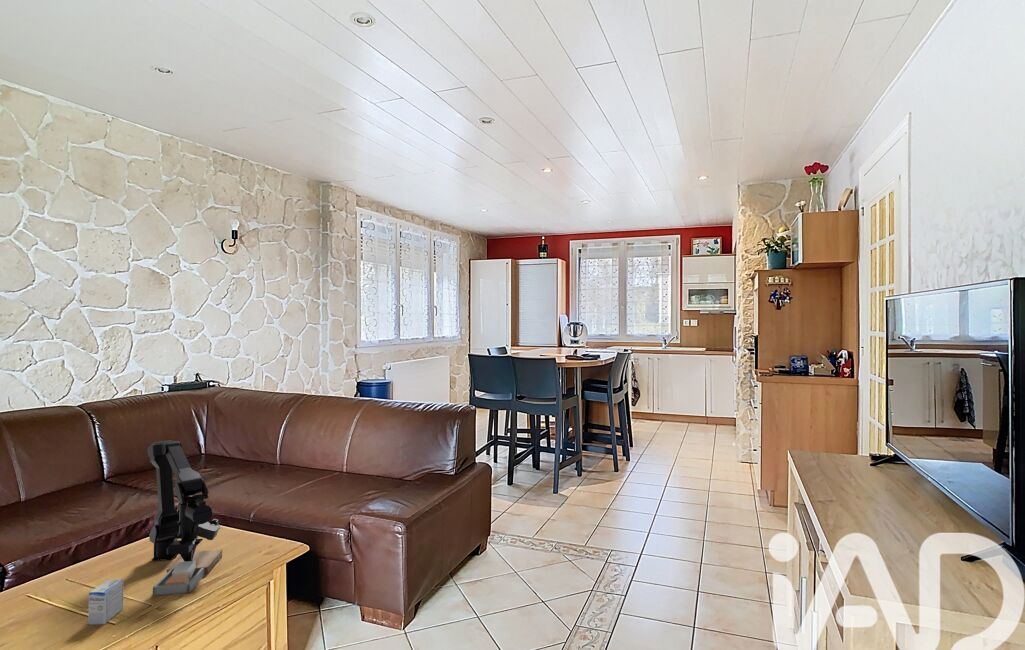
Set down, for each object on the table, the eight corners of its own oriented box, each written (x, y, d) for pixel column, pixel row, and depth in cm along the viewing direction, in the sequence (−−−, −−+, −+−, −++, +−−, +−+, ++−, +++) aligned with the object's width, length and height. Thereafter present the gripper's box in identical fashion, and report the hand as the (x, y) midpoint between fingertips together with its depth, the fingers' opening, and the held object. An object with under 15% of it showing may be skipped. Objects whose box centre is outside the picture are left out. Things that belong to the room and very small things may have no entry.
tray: (152, 595, 164) (152, 587, 164) (170, 577, 176) (170, 569, 176) (189, 593, 166) (189, 584, 166) (204, 575, 178) (204, 567, 178)
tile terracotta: (165, 591, 166) (165, 582, 166) (171, 583, 171) (171, 575, 171) (183, 589, 168) (183, 581, 168) (189, 582, 172) (189, 573, 172)
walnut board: (166, 577, 176) (166, 569, 176) (184, 559, 190) (184, 551, 190) (207, 574, 178) (207, 567, 178) (222, 556, 192) (222, 549, 192)
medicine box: (106, 610, 156) (107, 579, 156) (123, 609, 156) (123, 578, 156) (87, 625, 148) (88, 592, 148) (105, 624, 148) (105, 592, 148)
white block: (172, 579, 172) (172, 573, 171) (178, 568, 177) (177, 562, 176) (190, 578, 173) (189, 571, 172) (196, 567, 178) (195, 560, 177)
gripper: (205, 525, 171) (205, 576, 171) (226, 505, 189) (225, 551, 189) (166, 527, 169) (165, 579, 169) (190, 507, 187) (190, 553, 187)
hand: (188, 565), depth 179 cm, fingers closed
